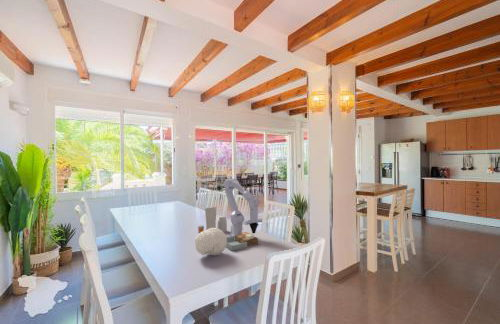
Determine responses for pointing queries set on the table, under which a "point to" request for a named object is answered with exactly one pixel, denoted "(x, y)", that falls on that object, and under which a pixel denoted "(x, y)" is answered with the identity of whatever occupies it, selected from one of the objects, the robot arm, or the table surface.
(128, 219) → the table surface
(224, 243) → the cauliflower
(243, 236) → the tile
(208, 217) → the toiletry set
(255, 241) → the board
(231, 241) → the tray
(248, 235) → the tile
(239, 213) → the robot arm
